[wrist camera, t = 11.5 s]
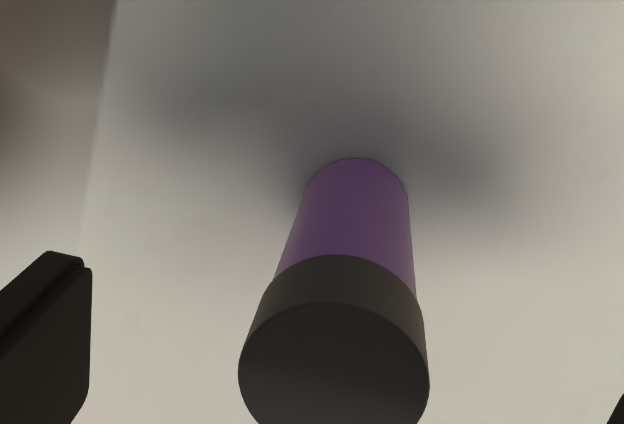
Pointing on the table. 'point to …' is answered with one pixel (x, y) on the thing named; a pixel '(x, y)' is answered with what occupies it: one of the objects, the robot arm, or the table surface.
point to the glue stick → (341, 310)
